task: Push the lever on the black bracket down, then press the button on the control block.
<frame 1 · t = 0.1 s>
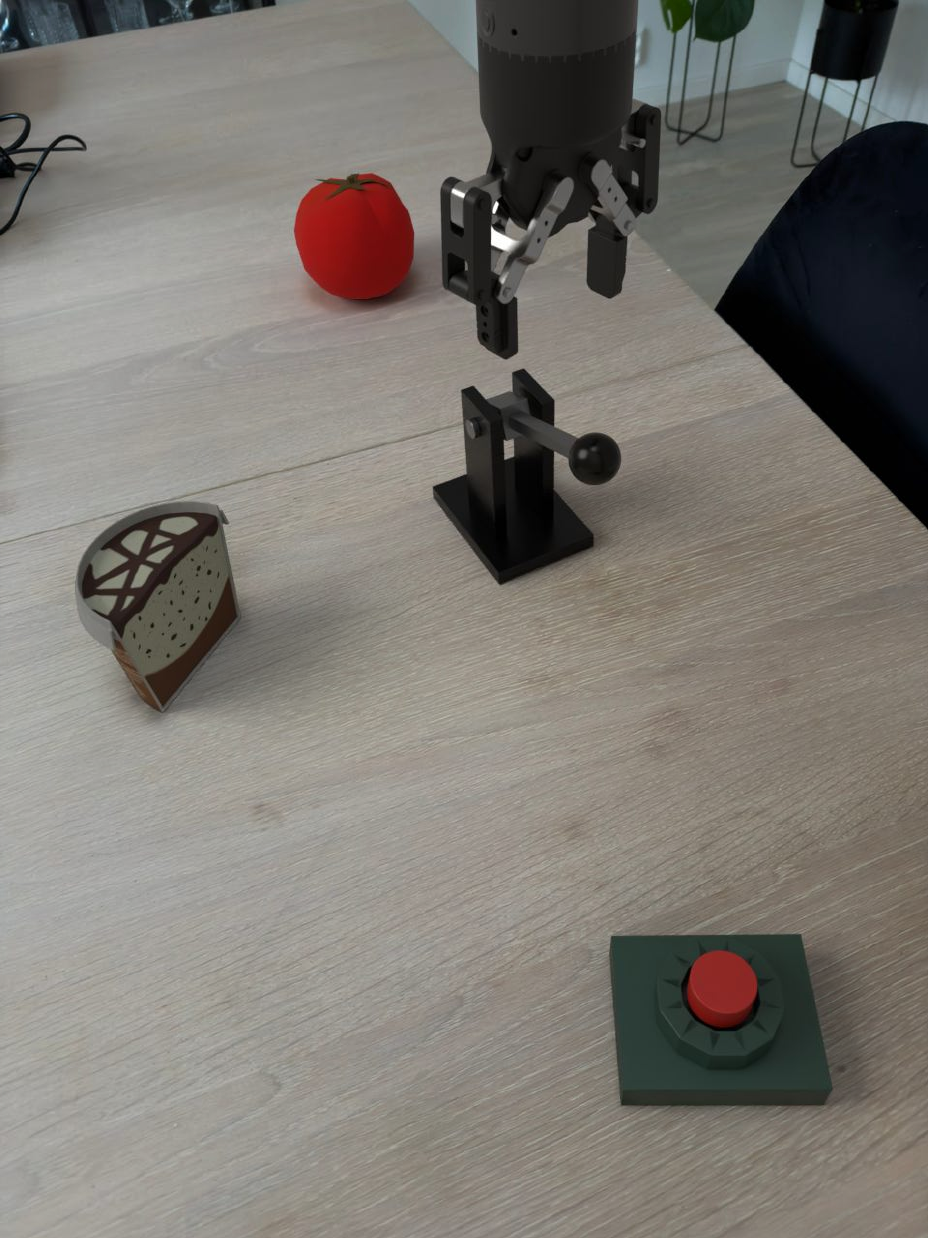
hand: (553, 320, 63), 22 cm above the table, tool pointing down, fingers open, 8 cm apart
button: (721, 989, 54), point 5 cm above the table, slide at 0.2 cm
lever: (549, 436, 71), point 12 cm above the table, hinge at 20.0°
black bracket: (511, 521, 84), on the table
tomato: (363, 287, 108), on the table
cake slice: (168, 652, 77), on the table
control block: (711, 1025, 57), on the table
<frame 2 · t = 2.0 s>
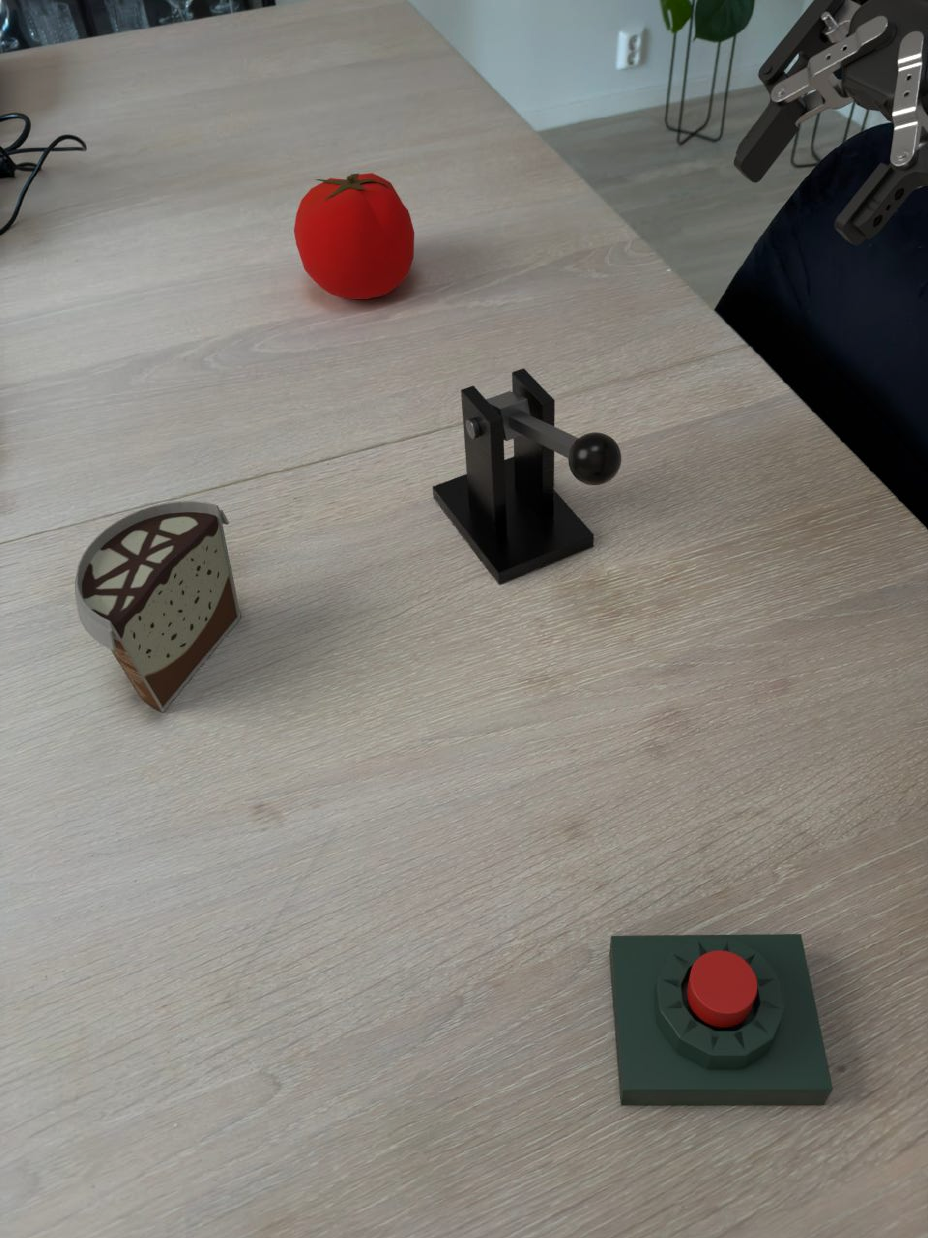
hand: (792, 203, 61), 27 cm above the table, tool tilted 45°, fingers open, 8 cm apart
nothing on the table moved.
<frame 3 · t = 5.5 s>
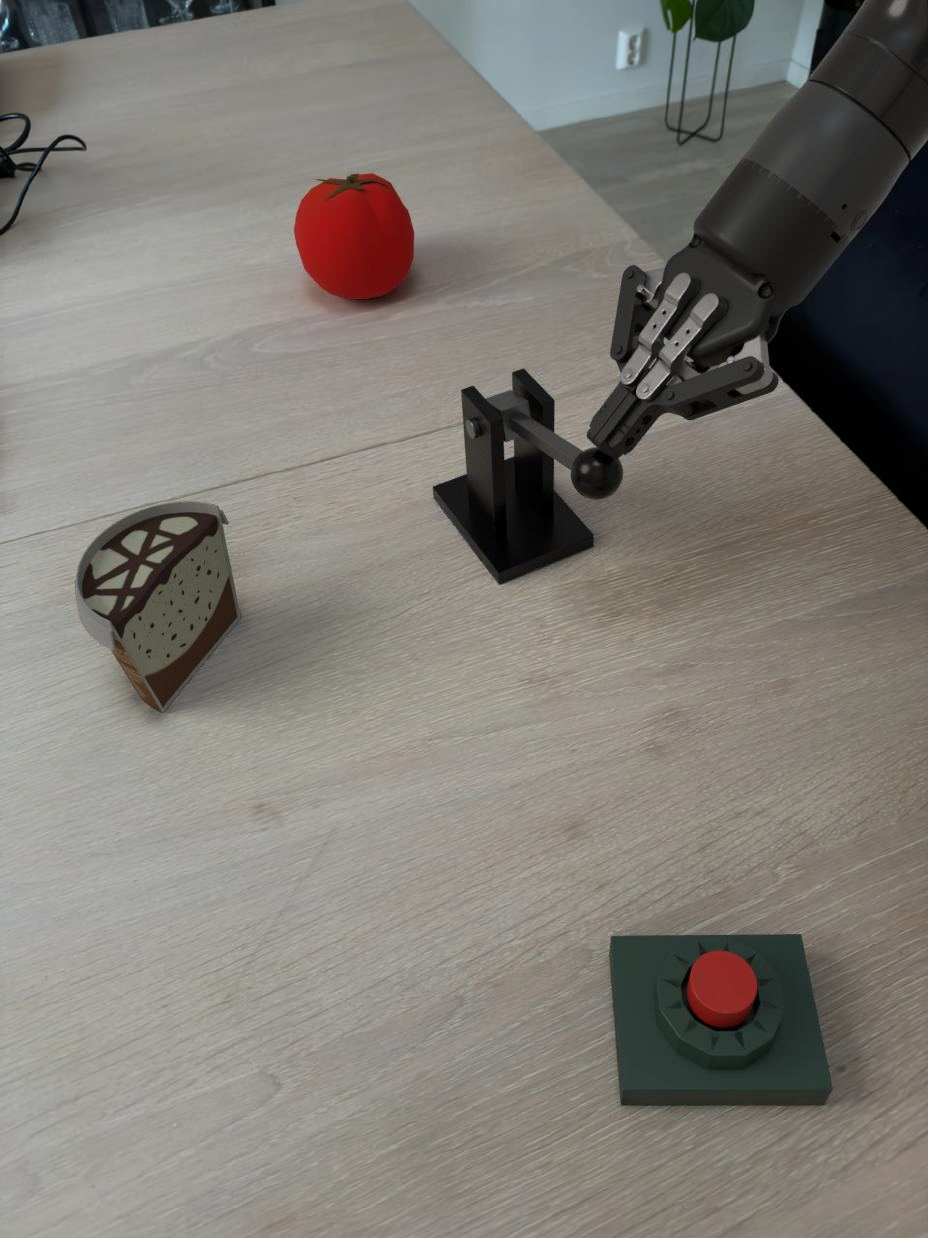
hand: (601, 448, 65), 15 cm above the table, tool tilted 45°, fingers closed
lever: (550, 443, 71), point 12 cm above the table, hinge at 15.3°, touching gripper
everything else where it was.
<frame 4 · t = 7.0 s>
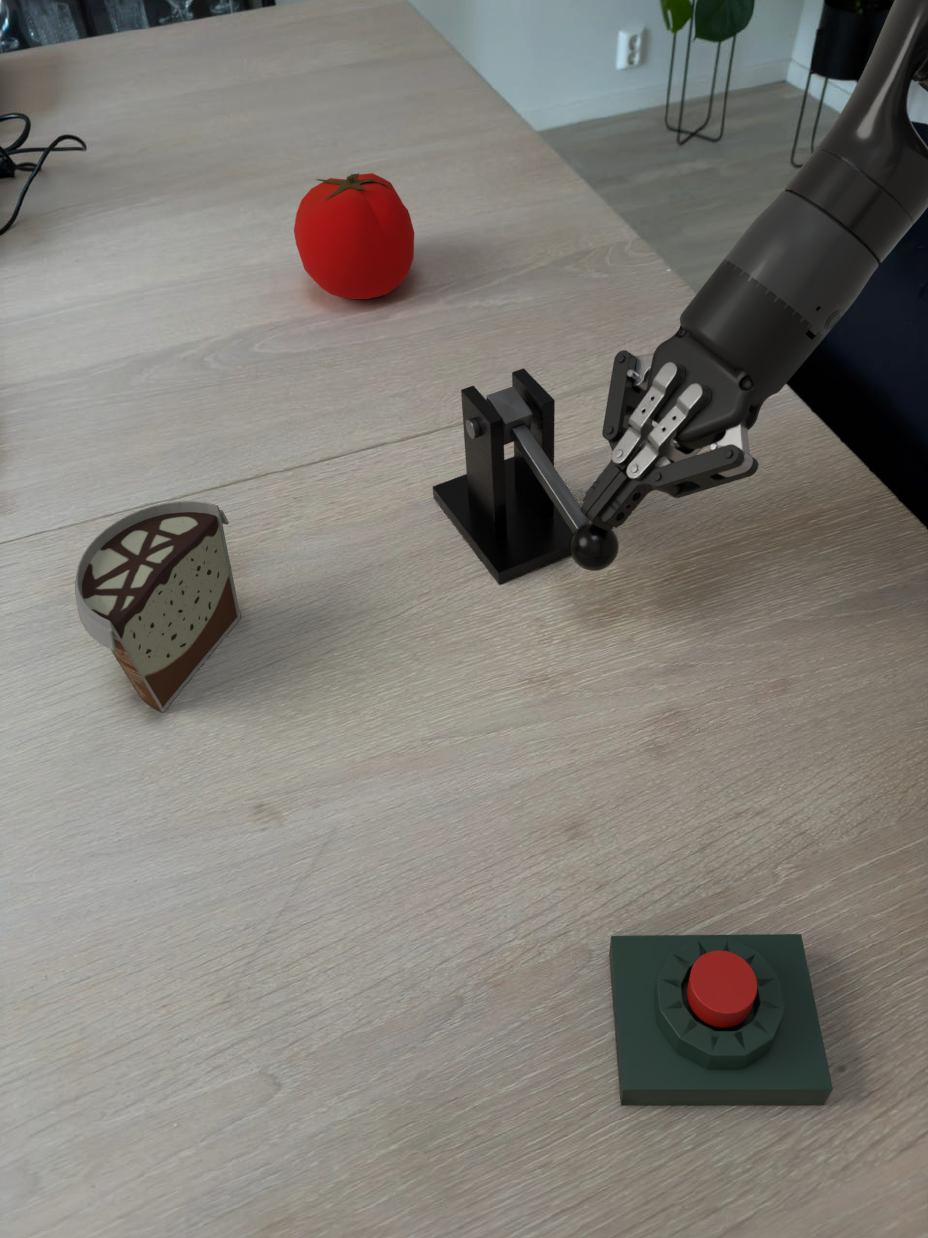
hand: (594, 521, 70), 9 cm above the table, tool tilted 45°, fingers closed
lever: (550, 479, 74), point 9 cm above the table, hinge at -14.2°, touching gripper
everything else where it was.
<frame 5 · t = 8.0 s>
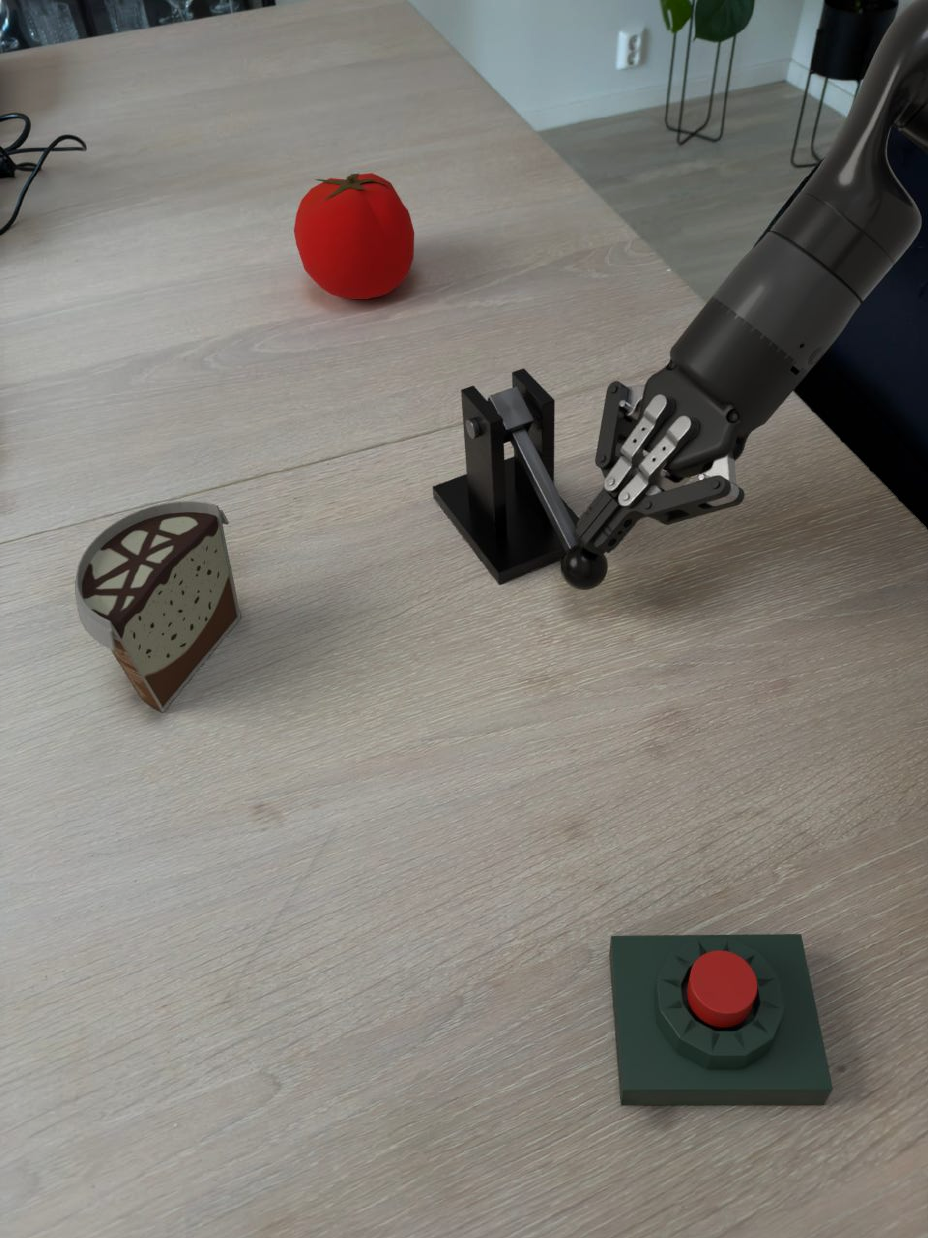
hand: (587, 546, 72), 6 cm above the table, tool tilted 45°, fingers closed
lever: (546, 491, 75), point 7 cm above the table, hinge at -28.5°, touching gripper
everything else where it was.
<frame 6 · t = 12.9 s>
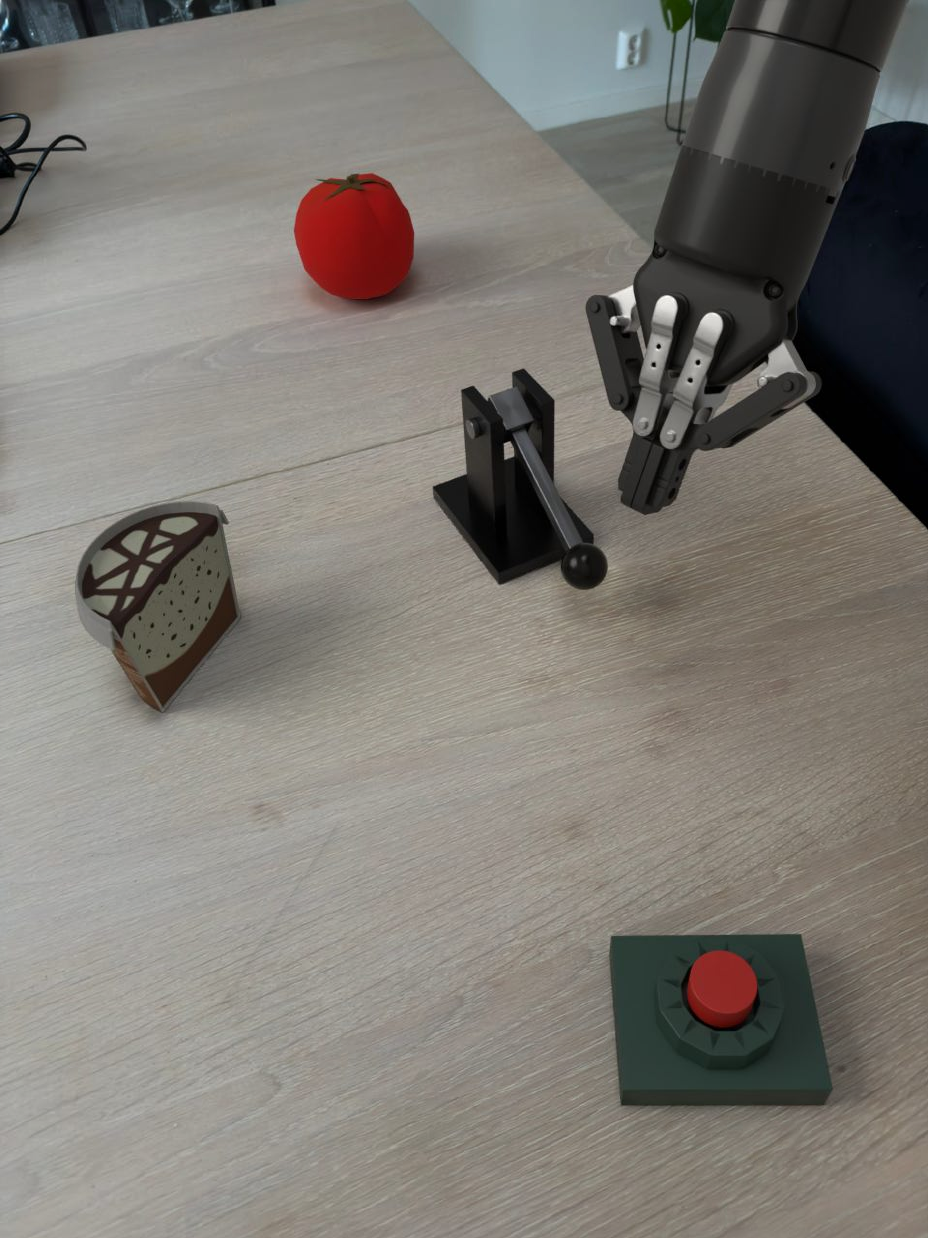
hand: (640, 507, 57), 18 cm above the table, tool tilted 30°, fingers closed
lever: (546, 491, 75), point 7 cm above the table, hinge at -28.6°
everything else where it was.
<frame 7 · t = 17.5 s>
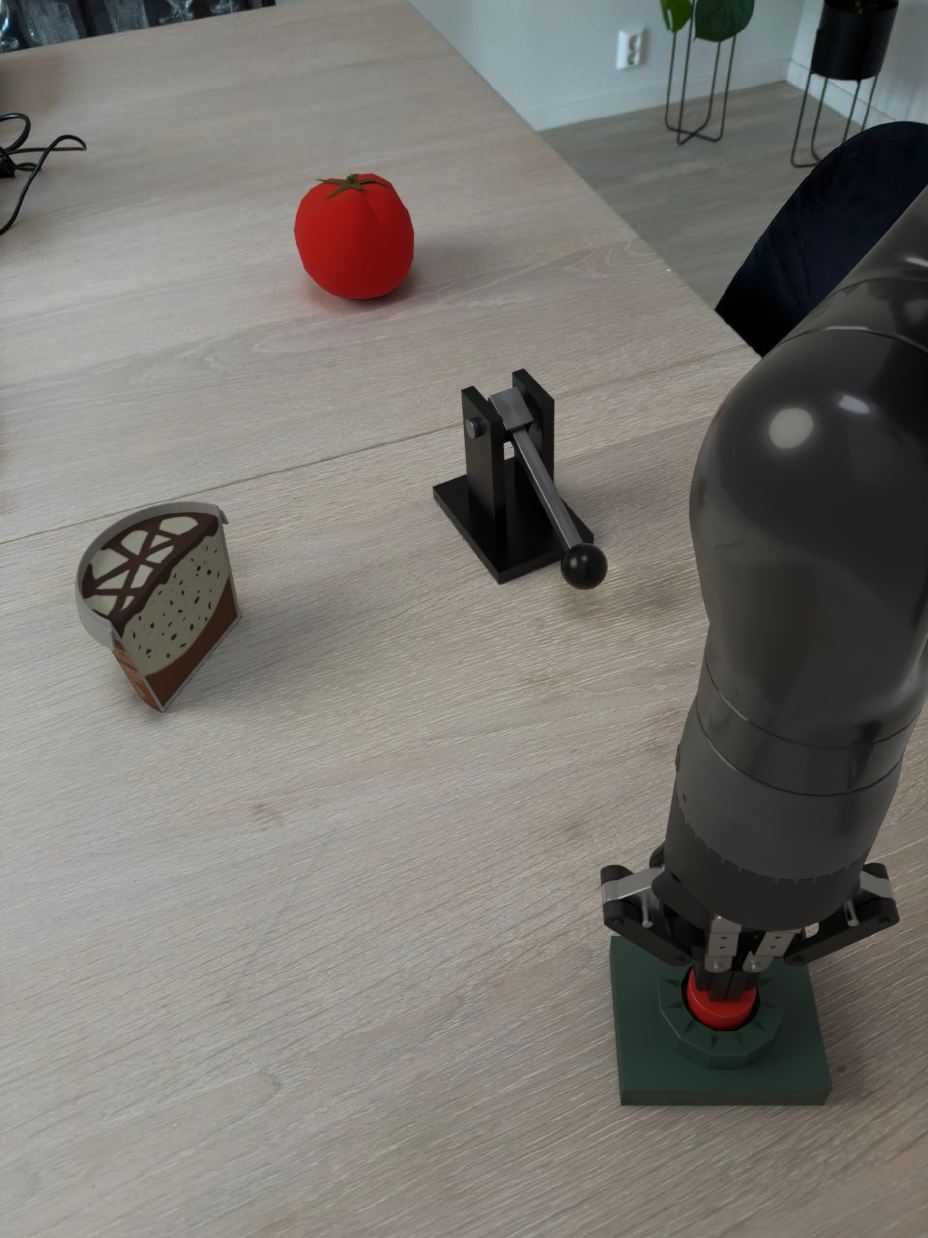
hand: (721, 982, 53), 5 cm above the table, tool pointing down, fingers closed
button: (720, 992, 54), point 4 cm above the table, slide at -0.3 cm, touching gripper
everything else where it was.
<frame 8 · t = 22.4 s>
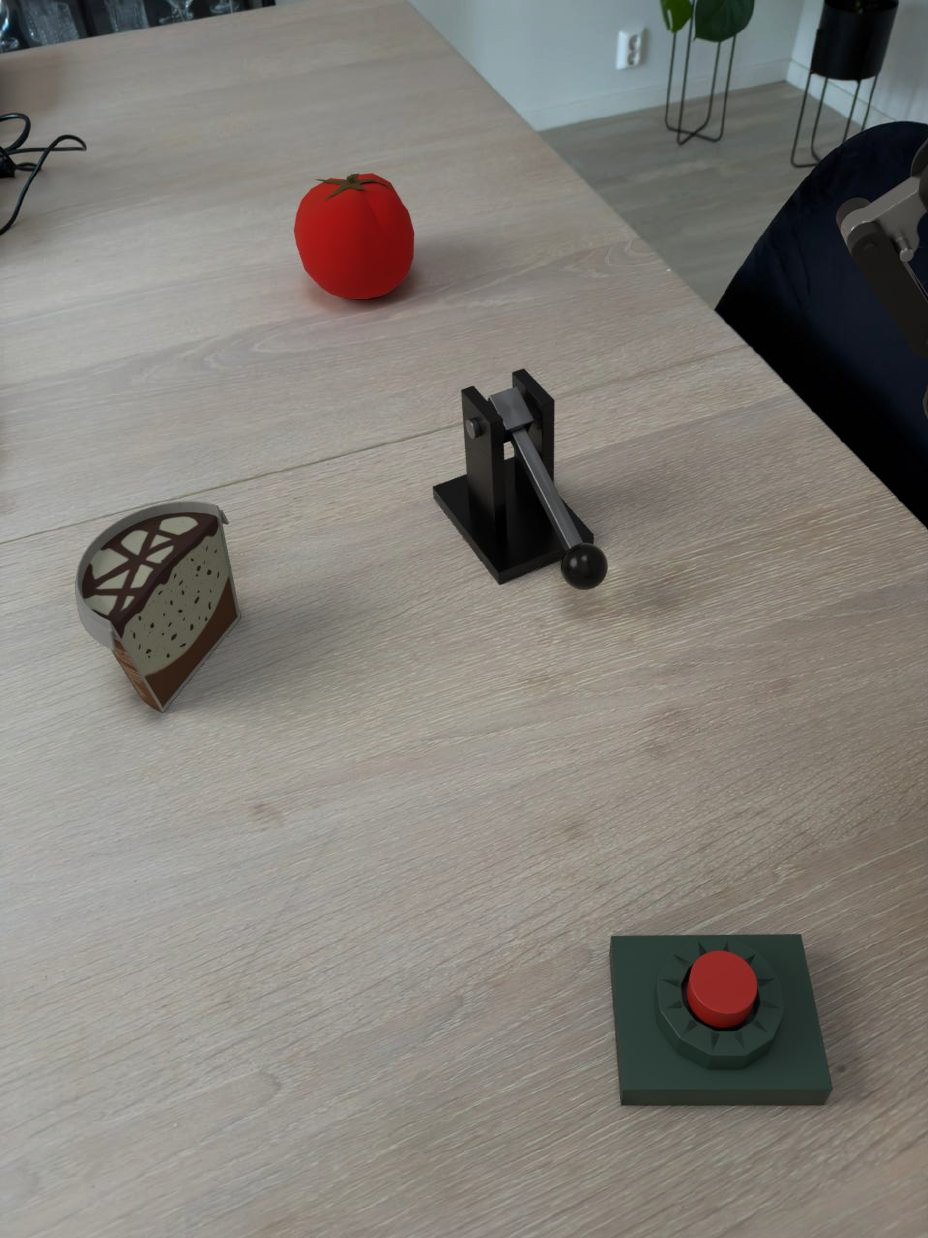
button: (721, 989, 54), point 5 cm above the table, slide at 0.1 cm
everything else where it was.
at the end: lever at -29° (first picture: +20°); button pushed in 1.1 cm at the most during the clip, back to where it started at the end; button slide at 0.1 cm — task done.
